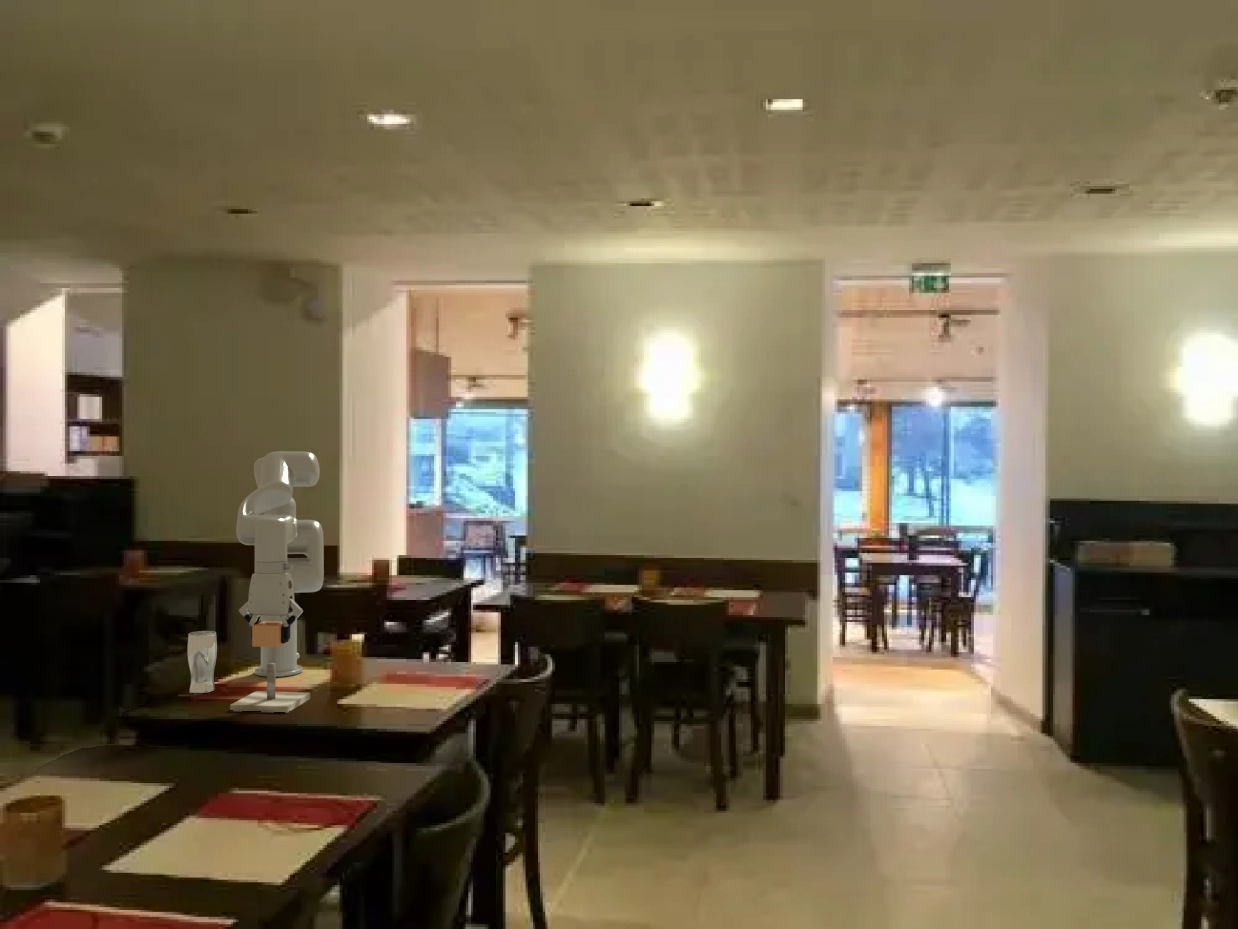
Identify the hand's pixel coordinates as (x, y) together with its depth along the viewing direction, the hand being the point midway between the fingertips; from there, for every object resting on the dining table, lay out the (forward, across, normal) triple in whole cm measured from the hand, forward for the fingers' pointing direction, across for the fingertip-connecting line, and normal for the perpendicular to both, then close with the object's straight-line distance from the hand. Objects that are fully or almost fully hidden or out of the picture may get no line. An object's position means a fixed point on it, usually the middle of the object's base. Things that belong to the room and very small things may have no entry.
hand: (270, 641), depth 255 cm
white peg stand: (+15, 0, 0) cm, 15 cm away
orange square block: (+1, 0, 0) cm, 1 cm away
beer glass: (+16, +23, -11) cm, 30 cm away
